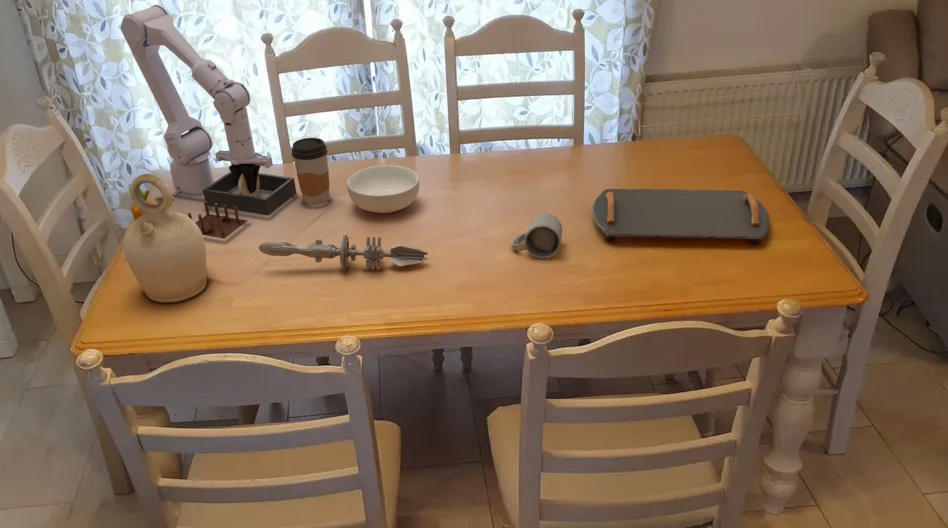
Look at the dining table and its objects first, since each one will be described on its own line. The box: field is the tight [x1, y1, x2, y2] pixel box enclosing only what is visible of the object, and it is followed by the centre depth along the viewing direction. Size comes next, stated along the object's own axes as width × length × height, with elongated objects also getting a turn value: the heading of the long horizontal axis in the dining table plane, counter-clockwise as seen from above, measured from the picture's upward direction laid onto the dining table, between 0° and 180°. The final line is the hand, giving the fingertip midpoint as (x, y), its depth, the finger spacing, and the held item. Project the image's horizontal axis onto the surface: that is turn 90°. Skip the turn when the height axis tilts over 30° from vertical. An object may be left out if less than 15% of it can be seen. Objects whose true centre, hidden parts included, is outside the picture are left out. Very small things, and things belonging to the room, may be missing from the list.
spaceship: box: [258, 232, 428, 272], centre depth 176 cm, size 8×35×8 cm
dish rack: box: [187, 200, 248, 240], centre depth 194 cm, size 11×9×5 cm
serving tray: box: [591, 188, 771, 246], centre depth 189 cm, size 39×23×6 cm, turn 84°
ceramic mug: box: [511, 212, 563, 259], centre depth 181 cm, size 11×8×8 cm
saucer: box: [237, 173, 260, 197], centre depth 203 cm, size 1×8×8 cm, turn 158°
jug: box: [123, 173, 208, 304], centre depth 168 cm, size 15×16×25 cm
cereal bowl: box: [346, 164, 420, 215], centre depth 200 cm, size 17×17×7 cm
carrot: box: [128, 188, 155, 221], centre depth 184 cm, size 5×5×15 cm
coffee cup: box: [291, 137, 331, 205], centre depth 201 cm, size 8×8×15 cm
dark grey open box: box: [203, 170, 298, 216], centre depth 205 cm, size 18×13×5 cm
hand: (250, 191), depth 204 cm, fingers closed on saucer, 1 cm apart
